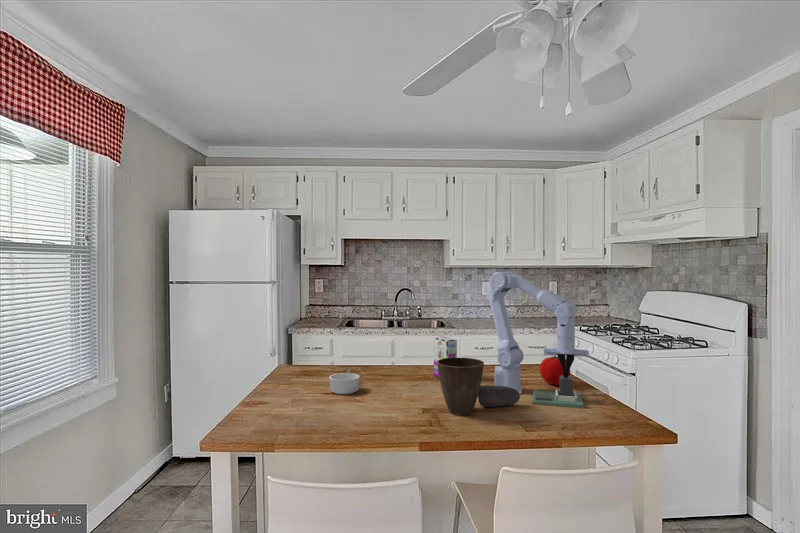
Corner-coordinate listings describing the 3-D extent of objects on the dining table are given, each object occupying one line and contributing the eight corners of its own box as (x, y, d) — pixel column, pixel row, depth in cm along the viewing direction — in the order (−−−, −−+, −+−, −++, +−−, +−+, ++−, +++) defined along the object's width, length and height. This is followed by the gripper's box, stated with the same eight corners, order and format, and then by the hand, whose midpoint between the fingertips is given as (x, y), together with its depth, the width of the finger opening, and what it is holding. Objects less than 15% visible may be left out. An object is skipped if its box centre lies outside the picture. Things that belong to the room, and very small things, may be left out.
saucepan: (364, 381, 193) (364, 368, 193) (358, 396, 173) (357, 380, 173) (336, 381, 194) (336, 367, 193) (326, 395, 174) (326, 380, 173)
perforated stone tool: (517, 403, 163) (517, 382, 163) (522, 407, 158) (522, 386, 158) (474, 404, 162) (473, 384, 161) (478, 409, 156) (478, 388, 156)
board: (532, 404, 162) (532, 396, 162) (532, 393, 175) (532, 386, 175) (583, 408, 157) (583, 400, 157) (579, 396, 171) (579, 389, 170)
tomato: (575, 388, 181) (575, 358, 181) (544, 388, 181) (544, 358, 181) (564, 380, 193) (564, 352, 193) (535, 380, 193) (535, 352, 193)
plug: (560, 399, 163) (560, 379, 163) (559, 394, 169) (559, 374, 169) (572, 400, 162) (572, 379, 162) (571, 395, 168) (571, 375, 168)
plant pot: (429, 407, 159) (429, 359, 158) (469, 402, 164) (469, 355, 164) (450, 421, 145) (449, 368, 144) (493, 415, 150) (492, 364, 150)
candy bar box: (457, 380, 194) (457, 339, 194) (446, 381, 192) (446, 340, 192) (443, 374, 204) (443, 335, 204) (433, 375, 202) (433, 336, 202)
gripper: (543, 338, 163) (543, 378, 163) (589, 339, 159) (589, 380, 159) (543, 334, 170) (543, 373, 170) (587, 336, 166) (587, 375, 166)
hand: (565, 376), depth 165 cm, fingers closed
